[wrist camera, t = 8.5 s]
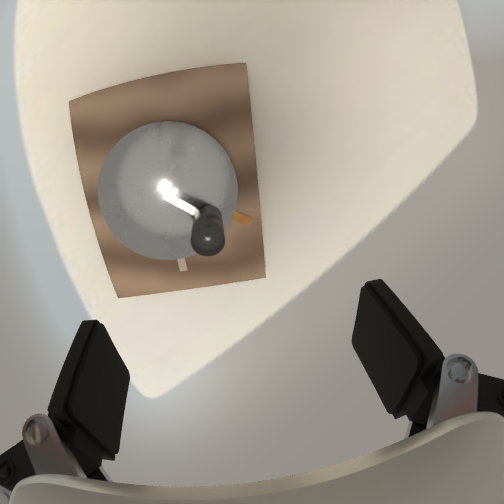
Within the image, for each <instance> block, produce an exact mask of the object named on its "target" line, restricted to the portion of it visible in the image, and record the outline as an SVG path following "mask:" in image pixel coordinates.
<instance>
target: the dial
mask: <svg viewBox="0 0 504 504" xmlns="http://www.w3.org/2000/svg"><path fill="white" fill-rule="evenodd" d="M237 197H238V185H237V178H236V174H235V170H234V167H233V165H232V163H231V160H230V158H229V156H228V155H227V153H226V151H225V150H224V148H223V147H222V146H221V145H220V144H219V142H218V141H216V140H215V139H214V138H213V137H212V136H211V135H209V134H208V133H206V132H205V131H204V130H202V129H200V128H198V127H195V126H193V125H190V124H187V123H182V122H174V121H163V122H155V123H151V124H147V125H144V126H141V127H139V128H137V129H135V130H133V131H131V132H130V133H128V134H127V135H125V136H124V137H123V138H122V139H120V140H119V141H118V142H117V143H116V145H115V146H114V147H113V148H112V149H111V151H110V152H109V154H108V155H107V157H106V159H105V161H104V163H103V166H102V168H101V171H100V175H99V180H98V201H99V206H100V210H101V213H102V216H103V218H104V220H105V223H106V224H107V226H108V228H109V229H110V231H111V232H112V233H113V234H114V236H115V237H116V238H117V239H118V240H119V241H120V242H121V243H122V244H124V245H125V246H126V247H128V248H129V249H131V250H132V251H134V252H136V253H138V254H141V255H143V256H146V257H149V258H153V259H159V260H177V259H182V258H187V257H190V256H193V255H195V254H199V255H202V256H207V257H208V256H214V255H216V254H218V253H219V252H220V251H221V250H222V249H223V247H224V245H225V234H224V231H225V230H226V229H227V227H228V225H229V224H230V222H231V220H232V217H233V215H234V212H235V208H236V204H237Z"/></svg>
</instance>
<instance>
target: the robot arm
mask: <svg viewBox="0 0 504 504" xmlns="http://www.w3.org/2000/svg"><path fill="white" fill-rule="evenodd" d="M352 345H353V348H354V350H355V351H356V353H357V355H358V357H359V359H360V361H361V362H362V364H363V366H364V368H365V370H366V372H367V374H368V376H369V377H370V379H371V381H372V383H373V385H374V387H375V389H376V391H377V393H378V395H379V397H380V398H381V401H382V403H383V404H384V406H385V408H386V410H387V412H388V413H389V414H393V416H394V418H395V419H397V418H400V417H401V416H404V415H407V417H408V419H409V424H408V428H407V431H406V435H405V438H404V440H402V441H399V442H397V443H395V444H392V445H390V446H387V447H385V448H382V449H379V450H377V451H374V452H372V453H369V454H366V455H363V456H361V457H358V458H355V459H352V460H349V461H346V462H342V463H339V464H336V465H332V466H329V467H326V468H321V469H318V470H314V471H310V472H305V473H301V474H297V475H292V476H287V477H282V478H277V479H271V480H264V481H258V482H250V483H242V484H233V485H220V486H201V487H164V486H146V485H134V484H123V483H115V482H113V481H112V480H111V479H110V477H109V476H108V474H107V473H106V472H105V470H104V469H103V467H102V465H101V463H102V459H105V460H115V454H117V453H118V452H119V446H120V438H121V431H122V423H123V416H124V410H125V403H126V398H127V392H128V386H129V381H130V374H129V371H128V369H127V367H126V366H125V364H124V362H123V360H122V359H121V357H120V355H119V353H118V351H117V349H116V348H115V346H114V344H113V342H112V340H111V338H110V336H109V334H108V332H107V330H106V328H105V326H104V325H103V324H102V323H100V322H99V321H98V320H86V321H82V323H81V325H80V327H79V329H78V331H77V333H76V336H75V338H74V340H73V343H72V345H71V347H70V350H69V352H68V355H67V357H66V360H65V362H64V365H63V367H62V370H61V372H60V375H59V378H58V380H57V383H56V386H55V389H54V392H53V394H52V398H51V400H50V403H49V406H48V411H49V413H48V416H47V415H45V414H35V415H32V416H31V417H30V418H28V419H27V421H26V422H25V424H24V426H23V430H22V436H23V440H22V441H20V442H19V443H17V444H16V445H15V446H13V447H12V448H10V449H9V450H7V451H6V452H4V453H3V454H1V455H0V504H504V380H503V379H499V378H495V377H491V376H487V375H484V374H480V373H478V369H477V366H476V364H475V362H474V361H473V360H472V359H471V358H469V357H468V356H466V355H463V354H451V355H450V356H448V357H446V358H445V357H444V356H443V353H442V352H441V350H440V349H439V348H438V346H437V345H436V344H435V342H434V341H433V340H432V339H431V337H430V336H429V335H428V333H427V332H426V331H425V330H424V328H423V327H422V326H421V325H420V324H419V322H418V321H417V320H416V319H415V317H414V316H413V315H412V314H411V313H410V312H409V310H408V309H407V308H406V307H405V305H404V304H403V303H402V302H401V301H400V300H399V298H398V297H397V296H396V295H395V294H394V293H393V291H392V290H391V289H390V288H389V287H388V286H387V285H386V283H385V282H384V281H383V280H382V279H378V280H372V281H368V282H366V283H365V286H363V287H362V288H361V292H360V298H359V304H358V309H357V315H356V321H355V326H354V330H353V335H352Z"/></svg>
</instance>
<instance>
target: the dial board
mask: <svg viewBox="0 0 504 504" xmlns="http://www.w3.org/2000/svg"><path fill="white" fill-rule="evenodd" d="M69 108H70V117H71V124H72V131H73V138H74V144H75V150H76V155H77V160H78V165H79V170H80V175H81V180H82V184H83V188H84V193H85V197H86V201H87V205H88V208H89V212H90V216H91V219H92V223H93V226H94V230H95V233H96V237H97V240H98V243H99V246H100V249H101V252H102V255H103V258H104V261H105V264H106V267H107V270H108V273H109V275H110V278H111V281H112V284H113V286H114V289H115V291H116V294H117V297H118V298H123V297H132V296H140V295H148V294H156V293H163V292H171V291H178V290H186V289H193V288H200V287H207V286H214V285H221V284H228V283H234V282H241V281H247V280H254V279H260V278H266V274H265V261H264V249H263V237H262V225H261V214H260V202H259V191H258V180H257V169H256V158H255V147H254V137H253V127H252V116H251V106H250V96H249V86H248V76H247V67H246V63H237V64H226V65H216V66H208V67H200V68H194V69H187V70H181V71H176V72H170V73H165V74H160V75H155V76H151V77H147V78H142V79H138V80H134V81H130V82H127V83H123V84H119V85H116V86H113V87H109V88H106V89H103V90H100V91H97V92H94V93H91V94H88V95H85V96H82V97H79V98H77V99H74V100H71V101H69ZM163 121H174V122H182V123H187V124H190V125H193V126H195V127H198V128H200V129H202V130H204V131H205V132H206V133H208V134H209V135H211V136H212V137H213V138H214V139H215V140H216V141H218V142H219V144H220V145H221V146H222V147H223V148H224V150H225V151H226V153H227V155H228V156H229V158H230V160H231V163H232V165H233V167H234V170H235V174H236V178H237V185H238V197H237V204H236V208H235V212H234V215H233V217H232V220H231V222H230V224H229V225H228V227H227V229H226V230H225V231H224V234H225V245H224V247H223V249H222V250H221V251H220V252H219V253H218V254H216V255H214V256H208V257H207V256H202V255H199V254H195V255H193V256H190V257H187V258H182V259H177V260H159V259H153V258H149V257H146V256H143V255H141V254H138V253H136V252H134V251H132V250H131V249H129V248H128V247H126V246H125V245H124V244H122V243H121V242H120V241H119V240H118V239H117V238H116V237H115V236H114V234H113V233H112V232H111V231H110V229H109V228H108V226H107V224H106V223H105V220H104V218H103V216H102V213H101V210H100V206H99V201H98V180H99V175H100V171H101V168H102V166H103V163H104V161H105V159H106V157H107V155H108V154H109V152H110V151H111V149H112V148H113V147H114V146H115V145H116V143H117V142H118V141H119V140H120V139H122V138H123V137H124V136H125V135H127V134H128V133H130V132H131V131H133V130H135V129H137V128H139V127H141V126H144V125H147V124H151V123H155V122H163Z"/></svg>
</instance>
